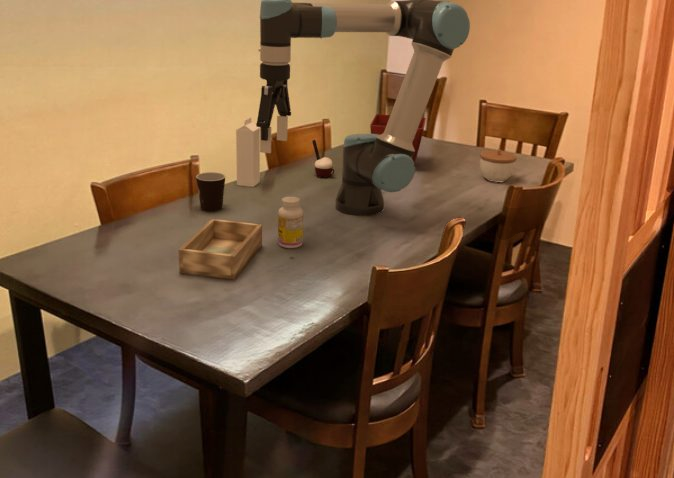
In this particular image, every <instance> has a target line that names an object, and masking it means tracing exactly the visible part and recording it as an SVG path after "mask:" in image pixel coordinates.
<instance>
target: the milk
mask: <svg viewBox="0 0 674 478" xmlns="http://www.w3.org/2000/svg"><path fill="white" fill-rule="evenodd" d="M235 133H236V134H235V136H236V137H235V141H236V142H235V144H236V186H241V187H247V188H248V187H250V188H254V187H255V186H256V185H258V184H259V183H260V181H261V179H260V178H261V177H260V176H261V175H260V173H261V171H260V166H261V165H260V161H261V160H260V159H261V158H260V157H261V156H260V155H261V154H260V153H261V152H260V127H257V126H256V124H255V123H254V122H252V117H249V118H247V119H245V120H244V124H243V125H242V126H240V127H239V128H236V129H235Z"/></svg>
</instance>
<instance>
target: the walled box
mask: <svg viewBox="0 0 674 478" xmlns="http://www.w3.org/2000/svg"><path fill="white" fill-rule="evenodd" d="M261 247H263V224H260V223H254V222H253V223H251V222H243V221H242V222H241V221H233V220H225V219H216V218H211V219H210V220H209V221H208V222H206V224H204V225H203V226H202V227H201V228H200V229H199V230H198V231H197V232H196V233H195V234H194V235H193V236H192V237H190V238H189V239H188V240H187V241H186V242H185V243H184V244H183V245H182V246H181V247H179V249H178V266H179V267H178V268H179V273H181V274H187V275H194V276H204V277H211V278H218V279H219V278H220V279H226V280H234V281H235V280H236V279H237V278H238V276H239V275H240V274H241V273H242V272H243V270H244V269H245V268H246V266H247V265H248V264H249V262H251V260H252V259H253V257H254V256H255V255H256V254H257V253H258V251H259V249H261Z"/></svg>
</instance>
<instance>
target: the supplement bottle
mask: <svg viewBox="0 0 674 478" xmlns="http://www.w3.org/2000/svg"><path fill="white" fill-rule="evenodd" d="M281 204H282V206H281V207H280V208H279V209H278V212H277V213H278V214H277V216H278V217H277V218H278V221H277V243H278V245H279V246H280V247H282V248H285V249H297V248H299V247H301V246H302V245H303V241H304V240H303V239H304V235H303V234H304V210H303V208H302V207H300V206H301V200H300V198H299V197H297V196H285V197H283V198H281Z"/></svg>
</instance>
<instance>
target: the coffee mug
mask: <svg viewBox="0 0 674 478" xmlns="http://www.w3.org/2000/svg"><path fill="white" fill-rule="evenodd" d="M195 179H196V186H197V192H198V193H197V194H198V198H199V204H200V209H201V211H203V212H209V213H214V212H219V211H221V210H222V209H223V206H224V194H225V185H226V175H225V174H224V173H221V172H216V171H215V172H211V171H210V172H201V173H198V174H197V175H196V176H195Z"/></svg>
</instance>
